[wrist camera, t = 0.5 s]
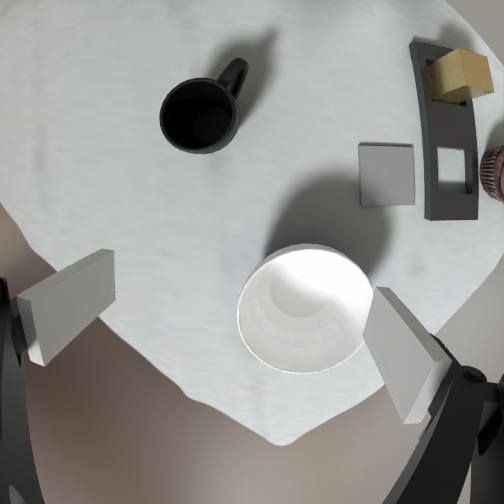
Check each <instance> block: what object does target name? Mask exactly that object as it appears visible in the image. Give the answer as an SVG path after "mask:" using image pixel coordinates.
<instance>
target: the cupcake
mask: <svg viewBox="0 0 504 504" xmlns="http://www.w3.org/2000/svg"><path fill="white" fill-rule="evenodd" d="M479 174H480V180H481V184H482V186H483V189H484V190H485V191H486V192H487V193H488V195H489V196H490V197H492V198H494V199H496V200H498V201H500V202H502V203H503V204H504V145H502V146H501V147H498V148H495V149H491V150H489V151H488V152H486V153H485V155H483V159H482V162H481V164H480V172H479Z"/></svg>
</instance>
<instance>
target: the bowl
mask: <svg viewBox="0 0 504 504" xmlns="http://www.w3.org/2000/svg"><path fill="white" fill-rule="evenodd" d="M373 295H374V292H373V288H372V286H371V284H370V281H369V279H368V277H367V276H366V275H365V273H364V272H363V271H362V270H361V268H360V267H359V266H358V265H357V264H356V263H354V262H353V261H352V260H351V259H349V258H348V257H347V256H346V255H344V254H343V253H341V252H339V251H337V250H335V249H333V248H331V247H327V246H323V245H319V244H312V243H300V244H293V245H289V246H286V247H283V248H280V249H278V250H277V251H275V252H273V253H272V254H270V255H269V256H267V257H266V258H265V259H264V260H263V261H261V262H260V263H259V264H258V265H257V266H256V267H255V269H254V270H253V271H252V272H251V274H250V275H249V277H248V279H247V281H246V283H245V285H244V287H243V289H242V292H241V294H240V297H239V302H238V306H237V323H238V328H239V332H240V334H241V337H242V339H243V341H244V343H245V344H246V346H247V347H248V349H249V350H250V351H251V353H252V354H253V355H255V356H256V357H257V358H258V359H259V360H260V361H262V362H263V363H265V364H267V365H268V366H270V367H272V368H275V369H277V370H280V371H283V372H288V373H294V374H310V373H316V372H321V371H324V370H328V369H331V368H333V367H335V366H337V365H339V364H341V363H343V362H344V361H345V360H347V359H348V358H350V357H351V356H352V355H353V354H354V353H355V352H356V351H357V350H358V349H359V348H360V347H361V346H362V345H363V343H364V342H365V340H364V338H363V336H362V334H363V331H364V327H365V324H366V320H367V317H368V313H369V310H370V306H371V302H372V299H373Z"/></svg>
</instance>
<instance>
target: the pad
mask: <svg viewBox="0 0 504 504" xmlns="http://www.w3.org/2000/svg"><path fill="white" fill-rule="evenodd" d="M358 154H359V172H360V199H361V206H388V205H415V189H414V159H413V148H412V147H391V146H358Z"/></svg>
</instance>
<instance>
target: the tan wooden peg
mask: <svg viewBox="0 0 504 504" xmlns="http://www.w3.org/2000/svg"><path fill="white" fill-rule="evenodd" d="M427 72H428V78H429V84H430V90H431V97H432V100H438V101H444V102H450V103H459V102H462V101H466V100H469V99H472V98H476V97H479V96H483V95H486V94H490V93H494V88H493V83H492V78H491V73H490V68H489V64H488V59H487V56H483V55H480V54H477V53H474V52H471V51H467V50H464V49H460V48H457V49H455V50H453V51H452V52H450V53H448V54H447V55H445V56H443V57H442V58H440V59H438V60H437V61H435V62H433V63H432V64H430V65H429V66H427Z"/></svg>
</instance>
